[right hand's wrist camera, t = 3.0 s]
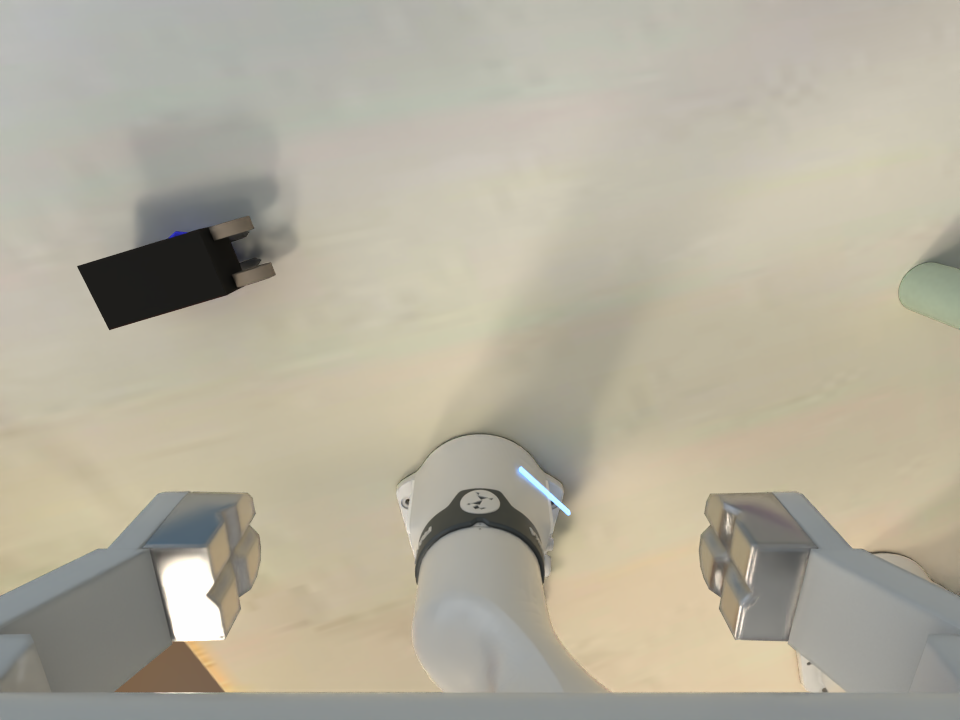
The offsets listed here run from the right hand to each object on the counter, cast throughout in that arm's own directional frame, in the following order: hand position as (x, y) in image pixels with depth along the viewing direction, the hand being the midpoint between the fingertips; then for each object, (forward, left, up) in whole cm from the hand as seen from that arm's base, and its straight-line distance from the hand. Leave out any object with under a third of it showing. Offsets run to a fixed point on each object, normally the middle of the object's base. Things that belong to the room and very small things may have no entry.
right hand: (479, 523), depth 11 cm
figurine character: (-5, +27, -48) cm, 55 cm away
